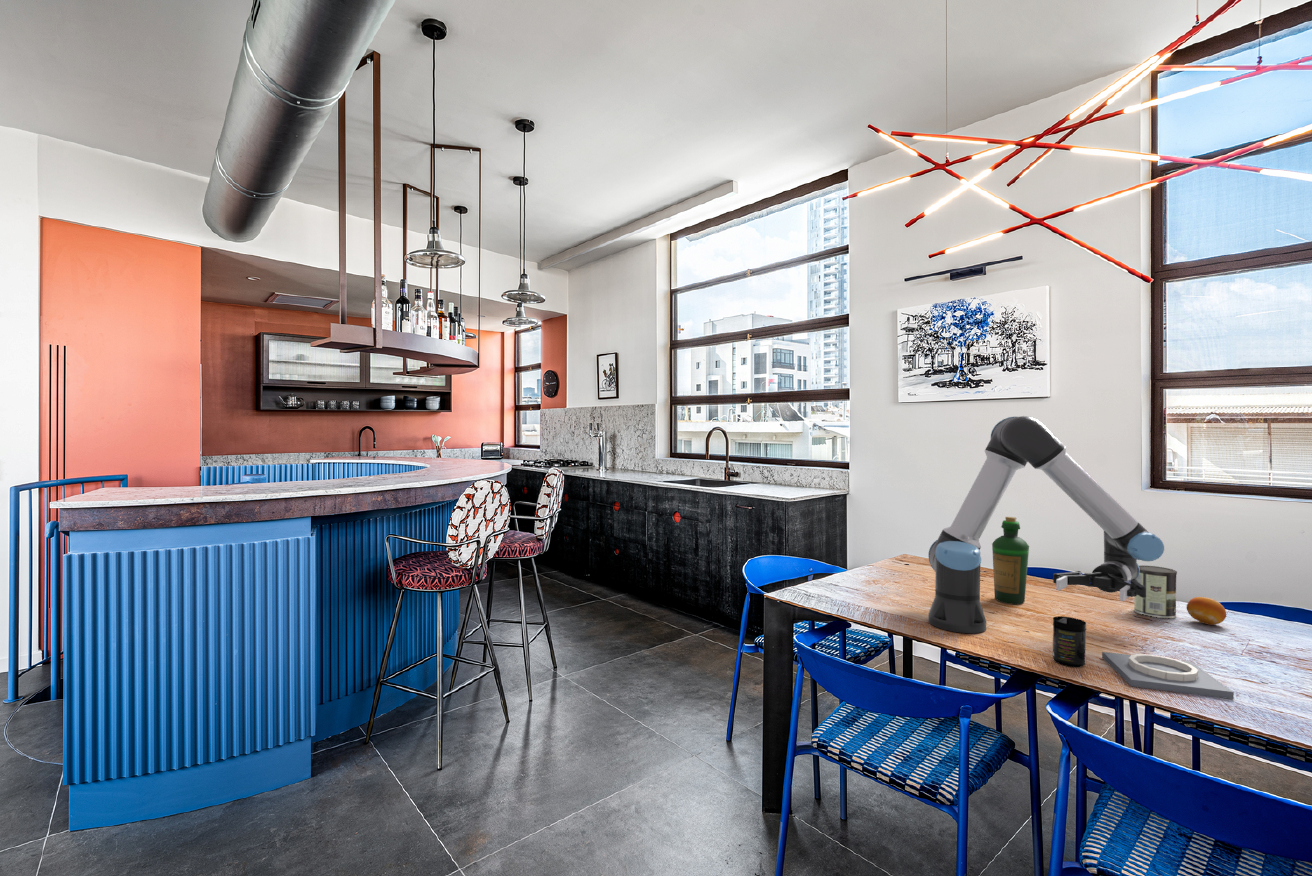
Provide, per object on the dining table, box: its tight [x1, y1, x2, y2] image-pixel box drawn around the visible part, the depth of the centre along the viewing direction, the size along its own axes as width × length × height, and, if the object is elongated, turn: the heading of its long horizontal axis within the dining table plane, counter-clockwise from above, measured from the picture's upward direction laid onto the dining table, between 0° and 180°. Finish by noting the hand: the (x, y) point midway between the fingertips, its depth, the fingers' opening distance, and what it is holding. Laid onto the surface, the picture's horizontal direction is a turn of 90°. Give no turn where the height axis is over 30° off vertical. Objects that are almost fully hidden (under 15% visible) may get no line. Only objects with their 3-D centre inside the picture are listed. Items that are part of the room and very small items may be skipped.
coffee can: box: [1133, 565, 1178, 619], centre depth 188 cm, size 10×10×14 cm
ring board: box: [1101, 651, 1235, 700], centre depth 140 cm, size 18×18×3 cm
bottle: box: [991, 516, 1030, 605], centre depth 201 cm, size 11×11×28 cm
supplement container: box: [1052, 615, 1087, 669], centre depth 147 cm, size 7×7×10 cm
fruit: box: [1186, 596, 1227, 626], centre depth 179 cm, size 8×8×8 cm
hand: (1088, 590), depth 154 cm, fingers open, 13 cm apart
